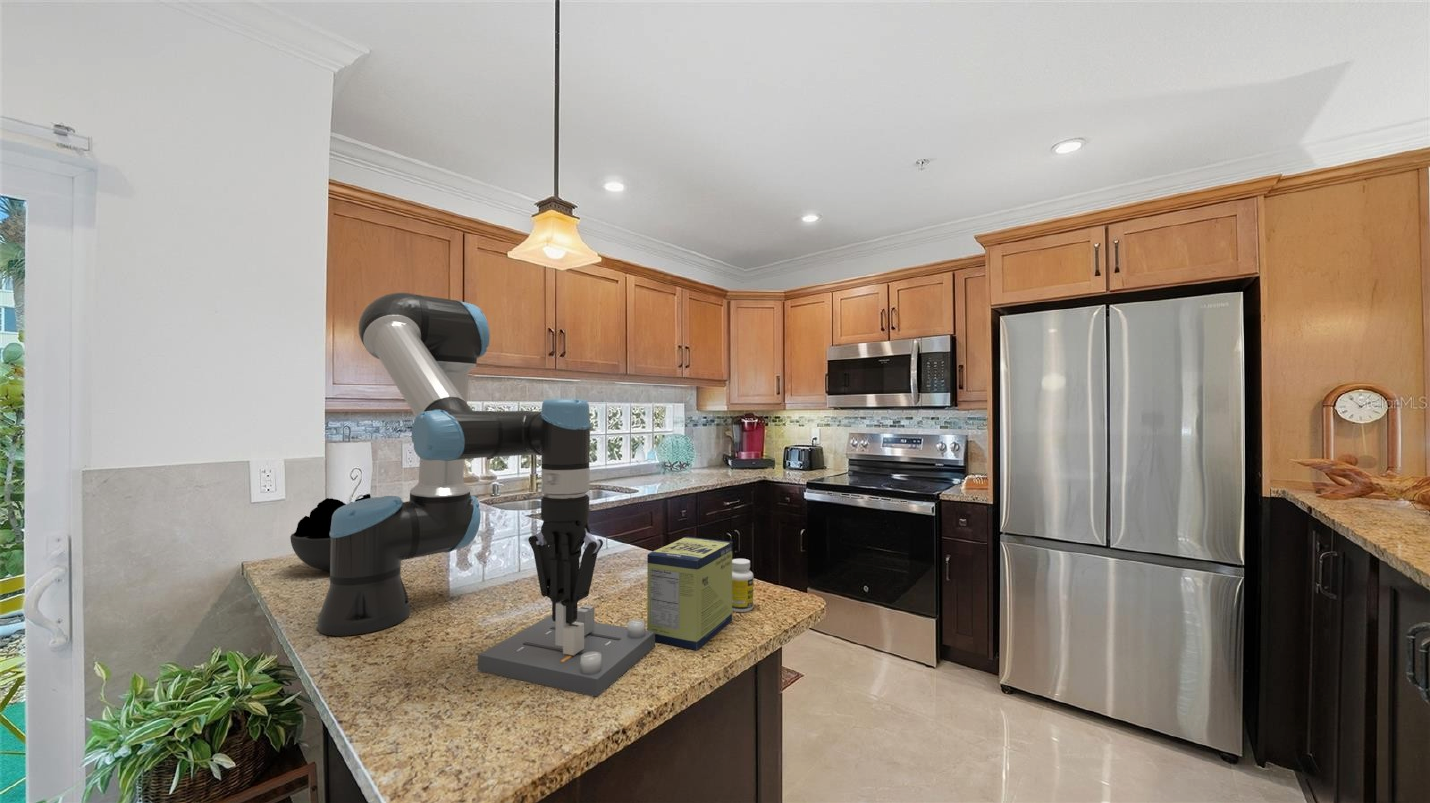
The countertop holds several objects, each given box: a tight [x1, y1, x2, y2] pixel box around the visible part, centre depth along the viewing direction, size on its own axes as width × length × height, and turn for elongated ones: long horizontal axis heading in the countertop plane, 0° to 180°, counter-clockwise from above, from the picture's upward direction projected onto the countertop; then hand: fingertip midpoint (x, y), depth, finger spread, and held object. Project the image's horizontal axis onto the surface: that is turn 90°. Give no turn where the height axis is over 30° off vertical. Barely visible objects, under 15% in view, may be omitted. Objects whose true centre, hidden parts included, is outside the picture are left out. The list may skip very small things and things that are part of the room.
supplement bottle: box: [732, 558, 754, 613], centre depth 113 cm, size 5×5×10 cm
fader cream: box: [563, 622, 584, 656], centre depth 87 cm, size 2×3×4 cm
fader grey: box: [575, 604, 595, 636], centre depth 94 cm, size 2×3×4 cm
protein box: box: [646, 536, 733, 651], centre depth 102 cm, size 10×16×16 cm
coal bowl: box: [289, 493, 372, 572], centre depth 141 cm, size 20×20×19 cm
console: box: [477, 614, 656, 698], centre depth 90 cm, size 22×18×5 cm
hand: (564, 641), depth 87 cm, fingers closed
